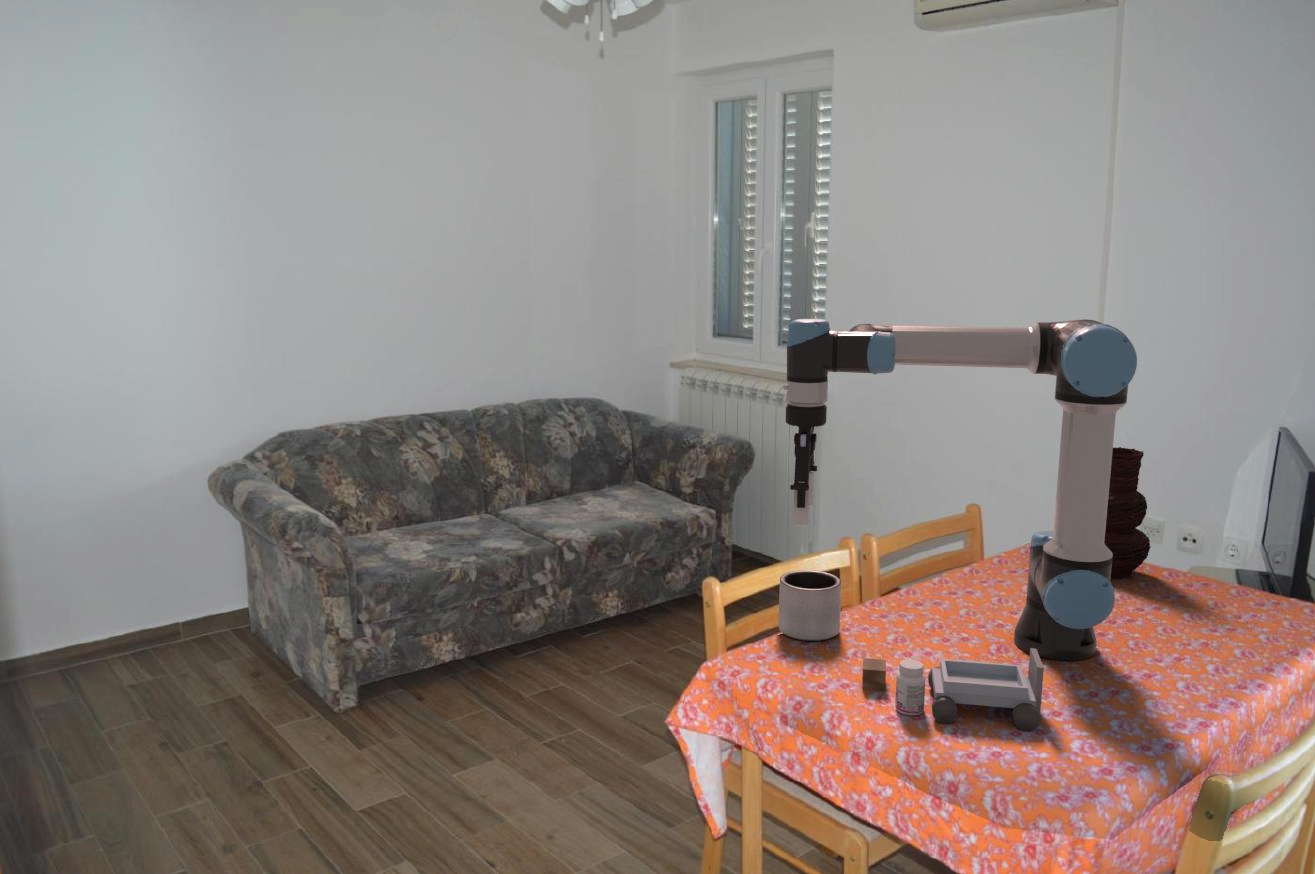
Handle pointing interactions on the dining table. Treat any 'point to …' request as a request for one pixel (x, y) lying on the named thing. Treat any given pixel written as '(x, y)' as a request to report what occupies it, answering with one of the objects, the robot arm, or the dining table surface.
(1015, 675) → the trolley
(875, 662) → the block
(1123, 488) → the vase
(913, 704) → the pill bottle
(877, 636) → the dining table surface
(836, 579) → the planter
